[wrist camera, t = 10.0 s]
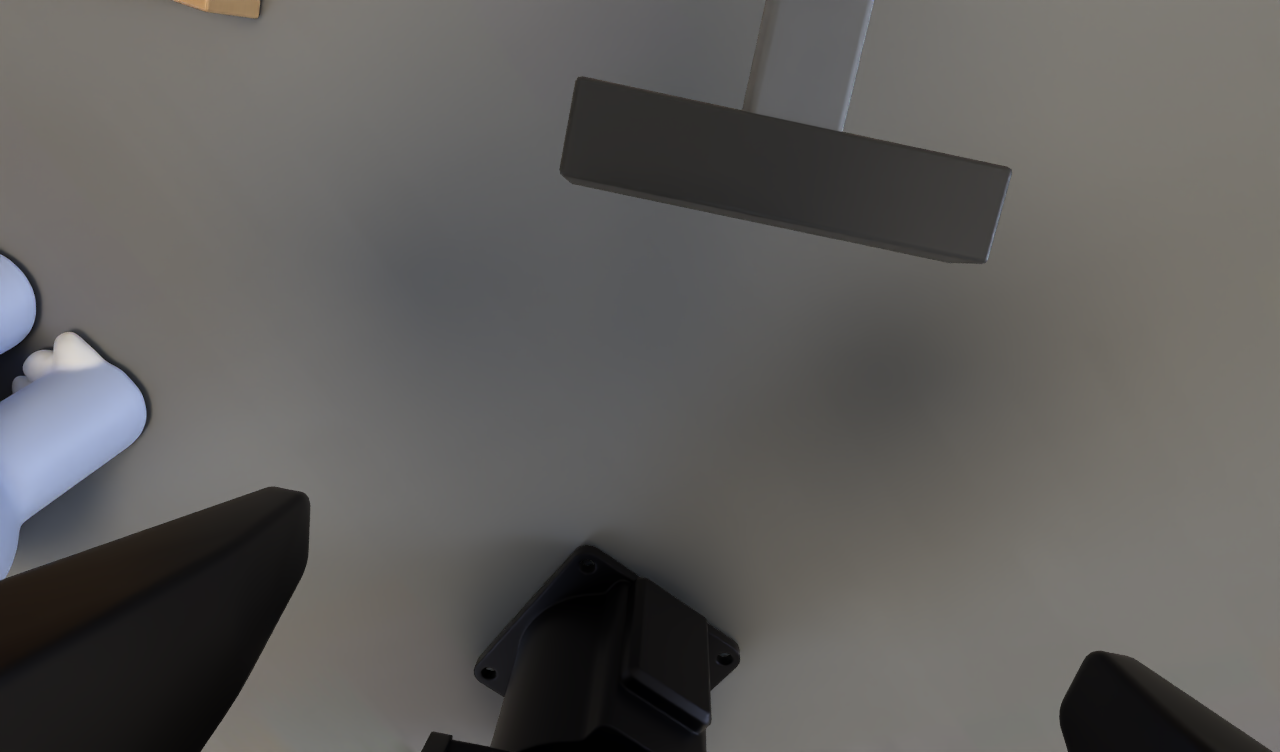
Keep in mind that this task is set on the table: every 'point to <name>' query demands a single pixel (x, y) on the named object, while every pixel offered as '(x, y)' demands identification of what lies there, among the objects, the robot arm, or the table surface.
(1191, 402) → the table surface
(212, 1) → the button block
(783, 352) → the table surface
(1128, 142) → the table surface
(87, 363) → the hippopotamus toy
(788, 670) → the table surface
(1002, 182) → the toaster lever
